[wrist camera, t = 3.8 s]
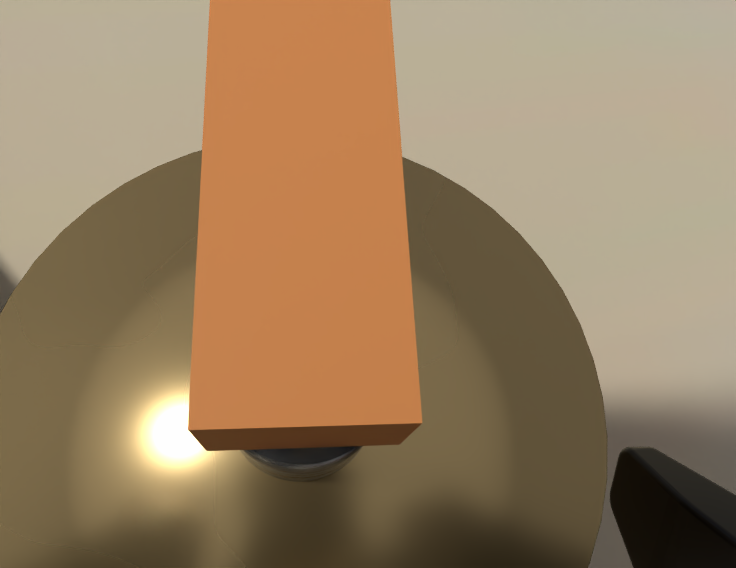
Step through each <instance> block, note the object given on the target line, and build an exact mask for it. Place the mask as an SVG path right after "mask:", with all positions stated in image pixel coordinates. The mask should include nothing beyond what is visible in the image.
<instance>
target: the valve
mask: <svg viewBox="0 0 736 568" xmlns="http://www.w3.org/2000/svg"><path fill="white" fill-rule="evenodd" d="M606 482H607V430H606V422H605V413H604V404H603V397H602V393H601V389H600V384H599V380H598V376H597V372H596V368H595V364H594V360H593V357H592V354H591V352H590V349H589V346H588V344H587V341H586V338H585V336H584V333H583V330H582V328H581V325H580V323H579V321H578V319H577V317H576V315H575V313H574V311H573V309H572V307H571V305H570V303H569V301H568V299H567V298H566V296H565V294H564V292H563V290H562V289H561V287H560V286H559V284H558V283H557V281H556V280H555V278H554V277H553V275H552V274H551V272H550V271H549V269H548V268H547V266H546V265H545V263H544V262H543V260H542V259H541V258H540V257H539V256H538V255H537V253H536V252H535V251H534V250H533V249H532V248H531V246H530V245H529V244H528V243H527V242H526V241H525V239H524V238H523V237H522V236H521V235H520V234H519V233H518V232H517V231H516V230H515V229H514V228H513V227H512V226H511V225H510V224H509V223H508V222H506V221H505V220H504V219H503V218H502V217H501V216H500V215H499V214H498V213H497V212H496V211H495V210H494V209H492V208H491V207H490V206H488V205H487V204H486V203H484V202H483V201H481V200H480V199H479V198H477V197H476V196H475V195H473V194H472V193H471V192H469V191H468V190H466V189H465V188H464V187H462V186H460V185H458V184H457V183H455V182H453V181H451V180H450V179H448V178H446V177H444V176H443V175H441V174H439V173H437V172H436V171H434V170H432V169H429V168H427V167H425V166H422V165H420V164H418V163H415V162H413V161H411V160H408V159H406V158H404V157H402V150H401V137H400V124H399V111H398V98H397V85H396V72H395V59H394V46H393V33H392V19H391V6H390V0H210V11H209V30H208V49H207V68H206V87H205V106H204V125H203V144H202V151H198V152H194V153H191V154H188V155H186V156H183V157H180V158H178V159H175V160H173V161H170V162H167V163H165V164H162V165H160V166H157V167H155V168H153V169H151V170H150V171H148V172H146V173H144V174H142V175H140V176H138V177H136V178H134V179H132V180H130V181H129V182H127V183H125V184H123V185H122V186H120V187H119V188H117V189H116V190H114V191H113V192H111V193H110V194H108V195H107V196H105V197H104V198H102V199H101V200H99V201H98V202H96V203H95V204H94V205H92V206H91V207H90V208H89V209H87V210H86V211H85V212H84V213H83V214H82V215H80V216H79V217H78V218H77V219H76V220H75V221H74V222H72V223H71V224H70V225H69V226H68V227H67V228H65V229H64V230H63V231H62V232H61V233H60V234H59V235H58V236H57V237H56V239H55V240H54V241H53V242H52V243H51V244H50V245H49V246H48V247H47V248H46V250H45V251H44V252H43V253H42V254H41V255H40V256H39V257H38V258H37V259H36V260H35V262H34V263H33V264H32V266H31V267H30V269H29V270H28V271H27V273H26V274H25V276H24V277H23V278H22V280H21V281H20V283H19V284H18V285H17V287H16V288H15V290H14V291H13V292H12V294H11V296H10V297H9V299H8V301H7V303H6V305H5V307H4V308H3V310H2V312H1V314H0V568H588V566H589V564H590V560H591V557H592V553H593V549H594V546H595V542H596V538H597V535H598V531H599V527H600V523H601V519H602V511H603V504H604V497H605V490H606Z"/></svg>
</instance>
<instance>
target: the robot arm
mask: <svg viewBox="0 0 736 568" xmlns="http://www.w3.org/2000/svg"><path fill="white" fill-rule="evenodd" d="M610 503H611V508H612V511H613V514H614V516H615V519H616V522H617V524H618V527H619V530H620V533H621V535H622V538H623V541H624V543H625V546H626V549H627V552H628V554H629V557H630V560H631V562H632V565H633V568H736V495H734V494H733V493H731V492H729V491H727V490H726V489H724V488H722V487H720V486H719V485H717V484H715V483H713V482H712V481H710V480H708V479H707V478H705V477H703V476H701V475H700V474H698V473H696V472H694V471H693V470H691V469H689V468H687V467H686V466H684V465H682V464H680V463H679V462H677V461H675V460H673V459H672V458H670V457H668V456H667V455H665V454H663V453H661V452H660V451H658V450H656V449H654V448H652V447H627V448H625V449H623V450H622V451H621V453H620V455H619V458H618V462H617V466H616V470H615V474H614V478H613V482H612V486H611V491H610Z"/></svg>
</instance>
